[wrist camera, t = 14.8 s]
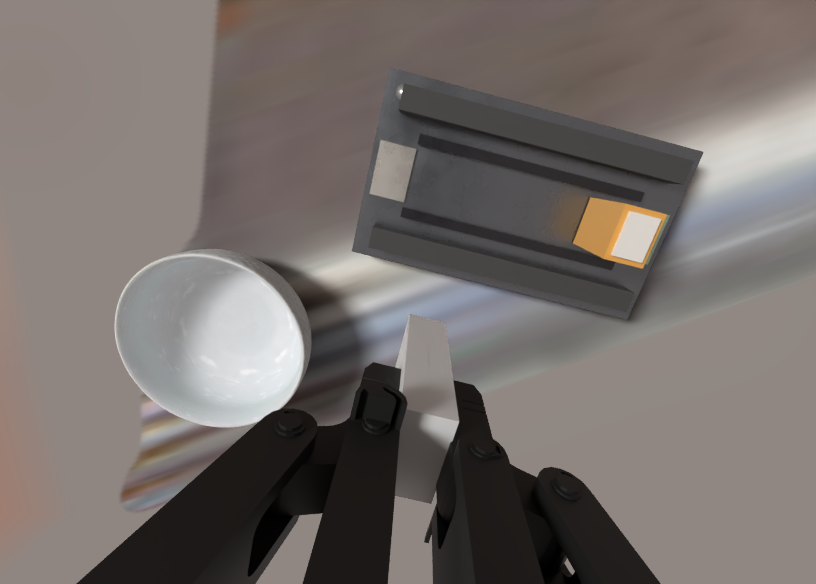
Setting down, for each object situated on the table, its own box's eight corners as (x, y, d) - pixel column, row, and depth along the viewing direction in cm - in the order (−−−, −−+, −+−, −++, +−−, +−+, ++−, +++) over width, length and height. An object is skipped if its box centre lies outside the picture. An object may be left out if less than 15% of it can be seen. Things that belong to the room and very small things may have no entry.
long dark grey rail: (404, 87, 31) (403, 83, 29) (679, 161, 32) (694, 161, 30) (399, 111, 31) (398, 108, 30) (670, 183, 32) (683, 184, 31)
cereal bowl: (338, 262, 38) (320, 282, 32) (310, 403, 44) (289, 446, 37) (166, 219, 38) (111, 231, 31) (158, 367, 43) (109, 405, 36)
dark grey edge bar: (375, 223, 34) (372, 226, 32) (624, 286, 35) (635, 292, 33) (370, 243, 35) (368, 247, 33) (616, 305, 36) (626, 312, 34)
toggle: (590, 197, 33) (628, 204, 27) (624, 206, 33) (669, 215, 27) (572, 243, 34) (605, 259, 28) (605, 251, 34) (645, 269, 28)
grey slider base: (392, 76, 33) (389, 65, 30) (680, 153, 34) (708, 151, 31) (357, 244, 38) (350, 252, 34) (612, 308, 39) (630, 322, 35)
